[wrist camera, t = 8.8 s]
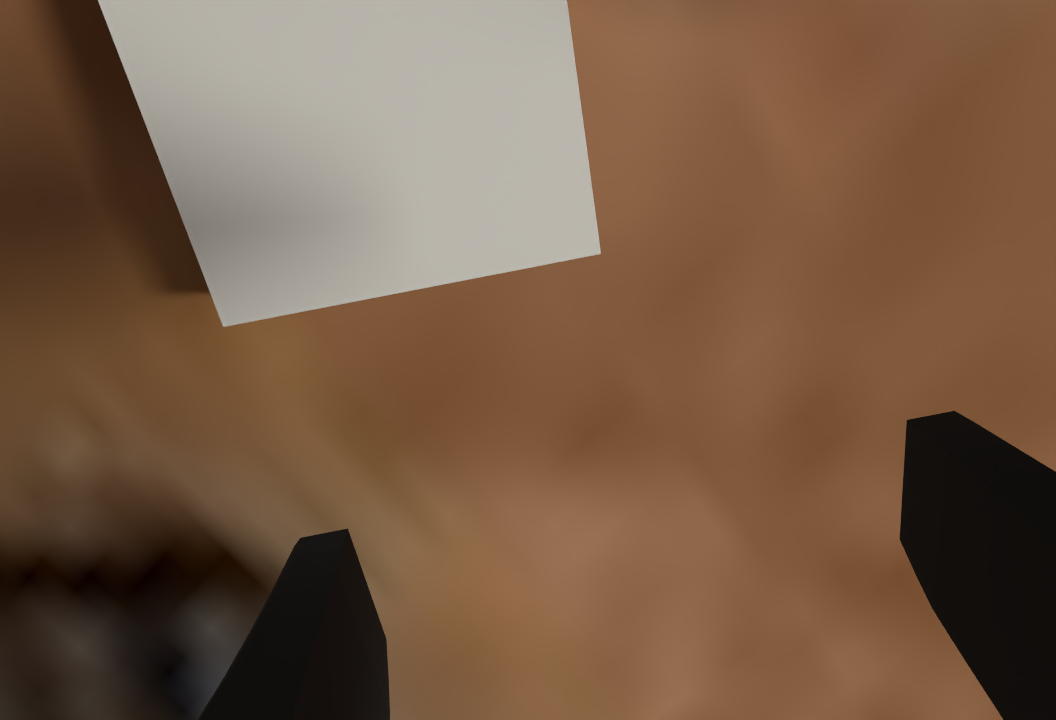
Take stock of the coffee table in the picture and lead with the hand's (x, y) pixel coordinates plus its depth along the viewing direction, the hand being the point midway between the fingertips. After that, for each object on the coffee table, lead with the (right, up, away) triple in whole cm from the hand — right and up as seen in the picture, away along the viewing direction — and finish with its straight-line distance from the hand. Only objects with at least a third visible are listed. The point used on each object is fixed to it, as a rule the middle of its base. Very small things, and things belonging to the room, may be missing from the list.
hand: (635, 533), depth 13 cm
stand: (-5, +8, +7) cm, 11 cm away
